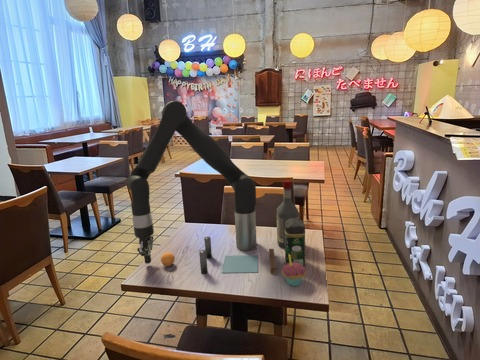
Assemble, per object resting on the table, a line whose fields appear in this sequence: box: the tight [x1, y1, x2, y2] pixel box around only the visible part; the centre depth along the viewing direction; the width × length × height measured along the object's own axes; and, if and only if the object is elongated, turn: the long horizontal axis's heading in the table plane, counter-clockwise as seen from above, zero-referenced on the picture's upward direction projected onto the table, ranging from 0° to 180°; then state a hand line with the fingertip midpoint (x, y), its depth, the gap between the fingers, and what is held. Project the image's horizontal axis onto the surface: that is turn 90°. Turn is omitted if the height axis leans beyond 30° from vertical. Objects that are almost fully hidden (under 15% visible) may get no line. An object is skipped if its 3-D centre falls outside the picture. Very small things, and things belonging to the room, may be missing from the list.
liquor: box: [276, 179, 300, 250], centre depth 142 cm, size 9×9×30 cm
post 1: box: [198, 249, 208, 275], centre depth 124 cm, size 3×3×9 cm
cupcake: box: [281, 255, 307, 287], centre depth 114 cm, size 9×8×12 cm
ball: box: [160, 251, 176, 267], centre depth 131 cm, size 6×6×6 cm
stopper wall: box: [268, 248, 277, 275], centre depth 129 cm, size 2×16×2 cm, turn 177°
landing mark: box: [221, 254, 259, 274], centre depth 130 cm, size 14×14×1 cm
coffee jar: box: [284, 217, 306, 268], centre depth 126 cm, size 10×8×19 cm
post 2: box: [203, 236, 213, 260], centre depth 136 cm, size 3×3×9 cm
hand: (148, 262), depth 132 cm, fingers closed
